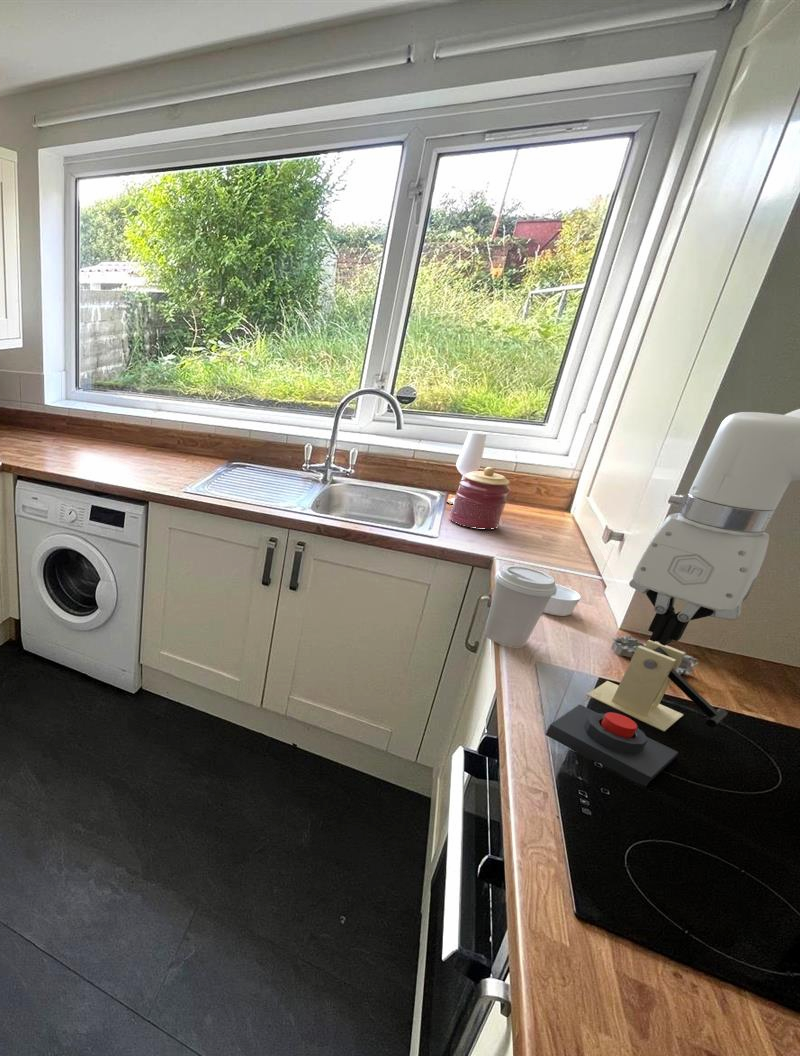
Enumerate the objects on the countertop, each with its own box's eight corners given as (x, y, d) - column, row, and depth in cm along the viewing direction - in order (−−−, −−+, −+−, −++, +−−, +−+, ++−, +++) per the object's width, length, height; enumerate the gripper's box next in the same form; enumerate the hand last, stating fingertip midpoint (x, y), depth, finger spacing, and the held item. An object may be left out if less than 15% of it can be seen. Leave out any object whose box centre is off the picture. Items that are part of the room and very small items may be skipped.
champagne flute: (464, 501, 196) (486, 431, 186) (470, 508, 190) (493, 435, 180) (442, 499, 197) (462, 429, 188) (448, 505, 191) (469, 433, 182)
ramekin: (528, 611, 125) (535, 594, 124) (520, 594, 133) (526, 577, 131) (579, 621, 122) (586, 603, 120) (567, 603, 129) (574, 586, 128)
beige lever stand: (680, 720, 93) (714, 659, 89) (661, 737, 89) (695, 673, 85) (604, 686, 101) (631, 628, 96) (584, 700, 97) (611, 640, 93)
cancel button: (636, 733, 84) (641, 723, 84) (626, 741, 83) (631, 732, 82) (606, 718, 87) (611, 709, 87) (596, 726, 86) (600, 716, 85)
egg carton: (694, 680, 104) (705, 661, 102) (665, 686, 102) (676, 667, 100) (628, 647, 113) (636, 629, 112) (600, 652, 111) (609, 634, 109)
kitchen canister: (442, 521, 176) (458, 465, 169) (455, 512, 185) (472, 458, 178) (491, 534, 168) (510, 476, 161) (503, 524, 176) (522, 468, 169)
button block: (672, 763, 84) (684, 742, 83) (644, 789, 79) (656, 767, 78) (574, 715, 94) (584, 694, 92) (545, 735, 89) (554, 714, 87)
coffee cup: (463, 628, 118) (486, 562, 112) (511, 631, 118) (536, 564, 112) (493, 655, 109) (519, 584, 103) (544, 658, 109) (574, 587, 103)
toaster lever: (717, 719, 88) (734, 713, 87) (705, 729, 86) (723, 723, 84) (647, 651, 94) (662, 644, 92) (635, 659, 92) (650, 652, 90)
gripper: (635, 500, 76) (583, 621, 83) (805, 541, 64) (727, 677, 71) (657, 493, 80) (605, 609, 87) (822, 530, 68) (746, 661, 75)
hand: (661, 640), depth 79 cm, fingers closed
